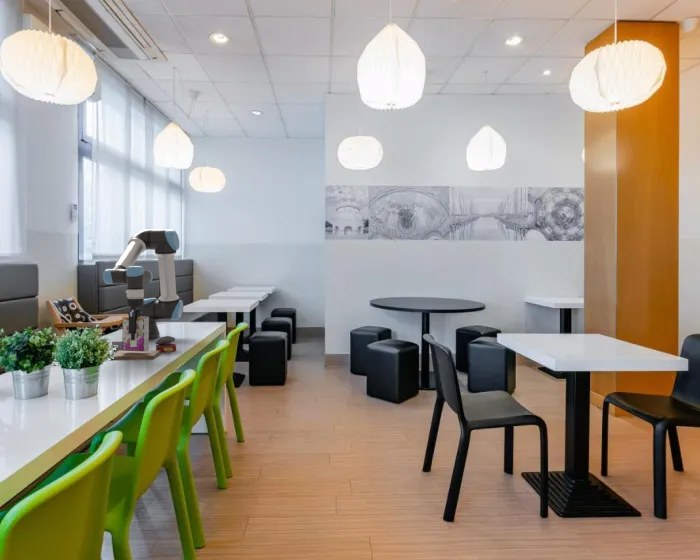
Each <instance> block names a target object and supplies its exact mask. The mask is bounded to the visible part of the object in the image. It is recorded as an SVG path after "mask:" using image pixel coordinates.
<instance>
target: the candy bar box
mask: <svg viewBox="0 0 700 560" xmlns="http://www.w3.org/2000/svg"><path fill="white" fill-rule="evenodd" d="M135 318H136V317H135ZM121 323H122V324H121V325H122V339H121V340H122V350H123V351H146V350H150V349H149V348H150V347H149V346H150V345H149V344H150V341H149V340H150V339H149V317H138V318H137V319H136V333H137V347H130V334H128V332H129V315H126V316H122V321H121Z"/></svg>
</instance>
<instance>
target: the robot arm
mask: <svg viewBox="0 0 700 560" xmlns="http://www.w3.org/2000/svg"><path fill="white" fill-rule="evenodd" d="M179 248H180V238H179V235H178V233H177V232H176V230H174V229H167V228H165V229H162V228H158V229H157V228H154V229H153V228H145V229H143V230H140V231H139V232H137V233H135V234H134V235H132V236H131V237H130V239H129V240H128V242H127V247H126V248H125V249H124V251H122V252H123V253H122V254H121V256H120V257H119V258H118V260H117V261H116V263H115V264H114V266H113V267H112V268H106V269H105V270H103V273H102V280H103V282H104V284H107V285H126V291H125V293H126V298H127V299H126V307H129V308H130V310H129V312H128V313H127V314H128V315H127V316H129V332H128V334H130V347H137V333H136V319H137V318H138V317H149V340H153V339H158V338H161V335H160V334H161V333H160V330H159V327H158V323H157V320H158V321H178V320H179V319H181V317H182V314H183V310H184V302H183V300H181V299H180V296H179V295H178V294H177V286H176V285H177V284H176V282H177V281H176V270H175V255H176V254H177V251H178V250H179ZM147 250H154V254H155V255H157V259H158V274H159V275H158V277H159V288H160V289H159V290H160V296H159V297H158V299H157V298H156V297H150V298H144V297H145V294H144V293H145V290H144V289H145V288H144V285H147V284H150V283H152V281H153V280H154V279H153V278H154V275H153V273H152V271H150V270H149V269H144V267H143V266H141V265H140V266H139V265H135V264H136V262H137V261H138V258H140V256H141V254H142V253H144V252H145V251H147ZM135 317H136V318H135Z"/></svg>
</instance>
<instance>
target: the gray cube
mask: <svg viewBox="0 0 700 560" xmlns="http://www.w3.org/2000/svg"><path fill="white" fill-rule="evenodd" d="M112 345H118V347H117V348H116V351H115V352H117V351H124V350H122V339H114V340H113V341H111V346H112Z"/></svg>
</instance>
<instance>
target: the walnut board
mask: <svg viewBox="0 0 700 560" xmlns="http://www.w3.org/2000/svg"><path fill="white" fill-rule="evenodd" d="M114 353H115V356H114V359H113V360H116V361H121V360H126V361H127V360H154V359H155V358H157V357H158V356H159V355H160V354H162V353H161V350H156V349H154V350H153V349H149V350H146V351H125V350H123V351H115V352H114ZM113 360H112V361H113Z"/></svg>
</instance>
